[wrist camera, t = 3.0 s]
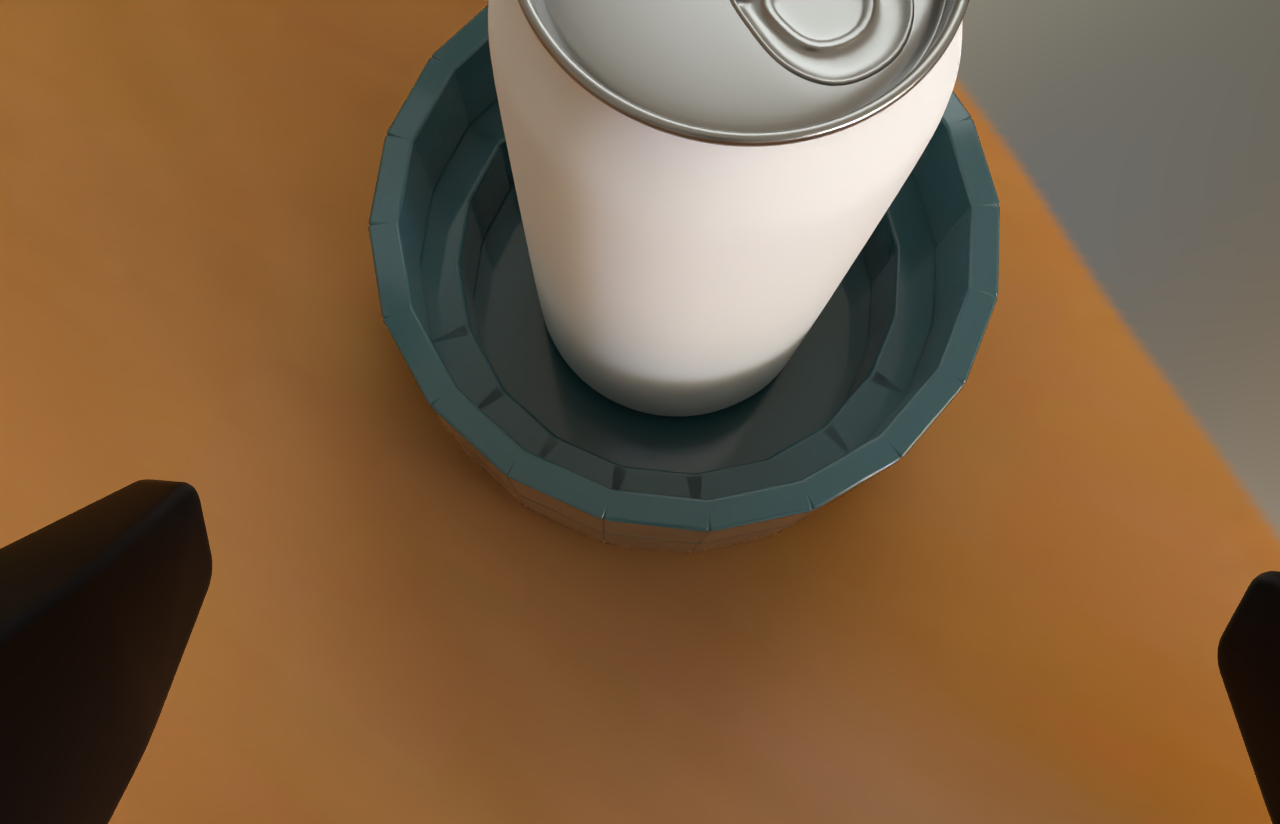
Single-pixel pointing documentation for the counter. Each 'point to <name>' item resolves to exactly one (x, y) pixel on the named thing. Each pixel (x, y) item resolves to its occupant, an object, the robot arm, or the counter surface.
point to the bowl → (646, 443)
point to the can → (708, 172)
